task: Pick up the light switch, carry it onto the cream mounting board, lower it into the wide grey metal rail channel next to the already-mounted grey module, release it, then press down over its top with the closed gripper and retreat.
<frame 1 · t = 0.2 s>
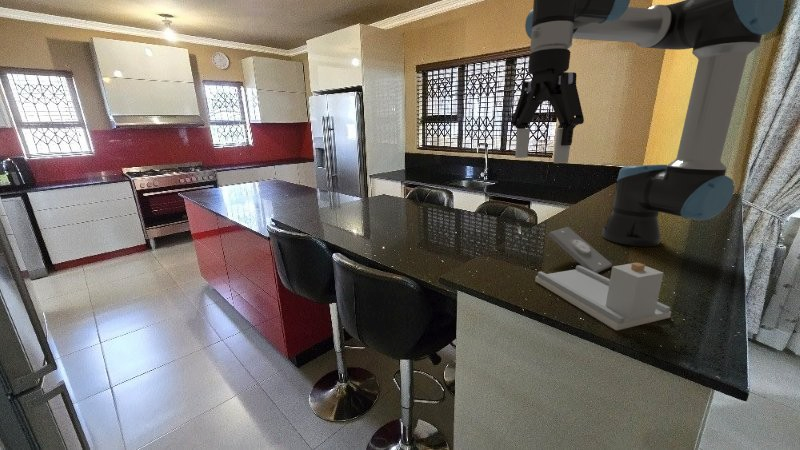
hand: (539, 160, 73), 27 cm above the worktop, fingers open, 13 cm apart
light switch: (577, 264, 88), on the worktop
rail board: (595, 297, 70), on the worktop
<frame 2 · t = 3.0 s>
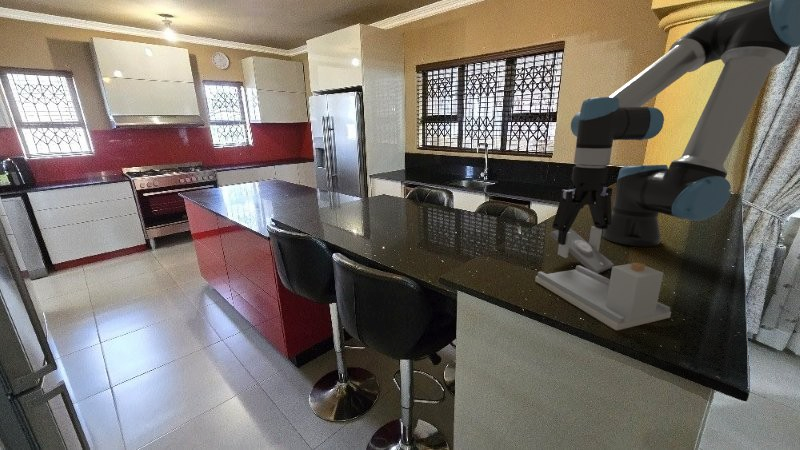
hand: (578, 253, 87), 3 cm above the worktop, fingers closed on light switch, 9 cm apart
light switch: (578, 264, 88), on the worktop, touching gripper
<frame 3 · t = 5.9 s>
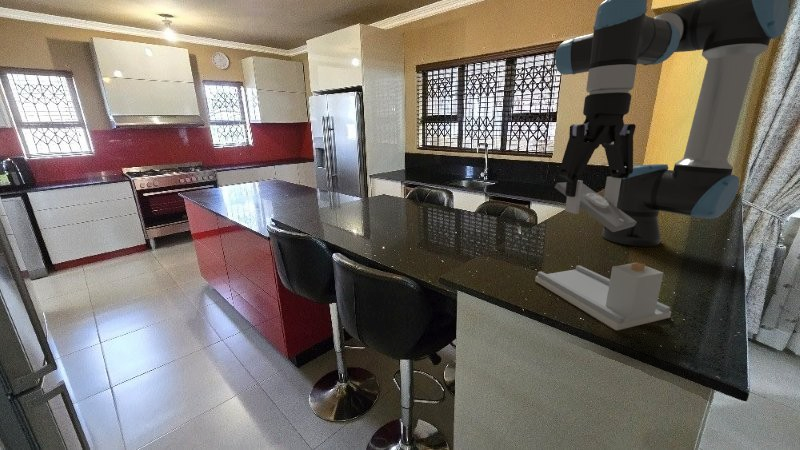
hand: (590, 210, 69), 18 cm above the worktop, fingers closed on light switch, 9 cm apart
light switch: (591, 223, 70), point 15 cm above the worktop, touching gripper
when the fingers open (5 cm above the worktop, at t = 8.7 s): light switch stays where it is, resting on rail board.
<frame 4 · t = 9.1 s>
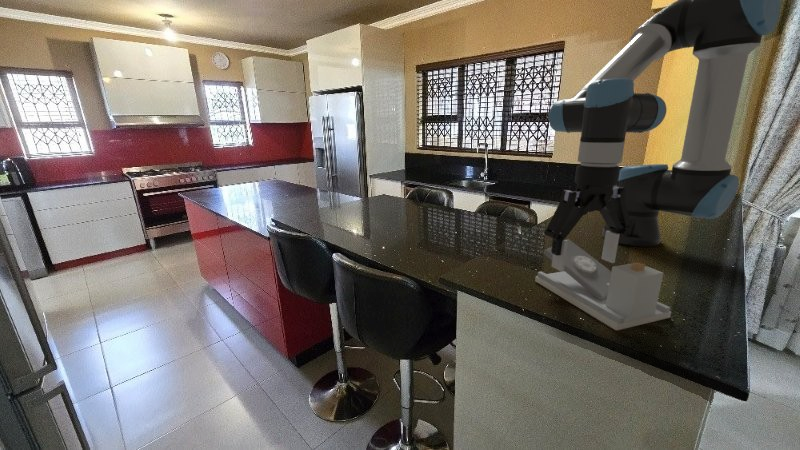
hand: (583, 264, 72), 6 cm above the worktop, fingers open, 13 cm apart
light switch: (582, 284, 73), point 1 cm above the worktop, touching rail board
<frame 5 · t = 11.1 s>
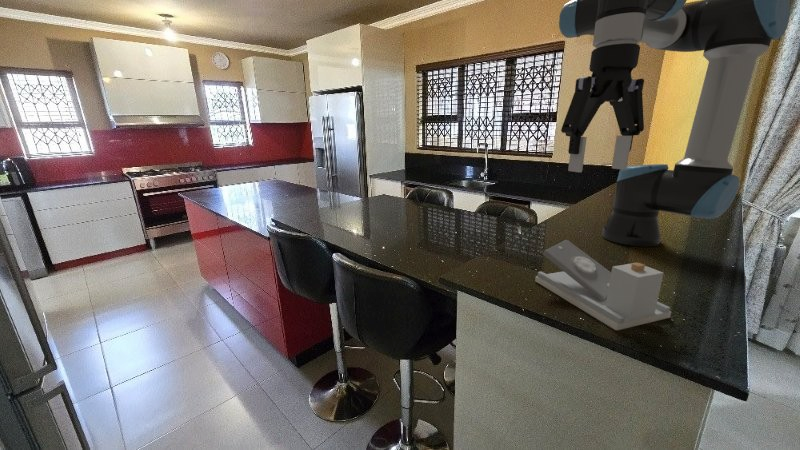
hand: (597, 170, 67), 26 cm above the worktop, fingers open, 10 cm apart
nothing on the worktop moved.
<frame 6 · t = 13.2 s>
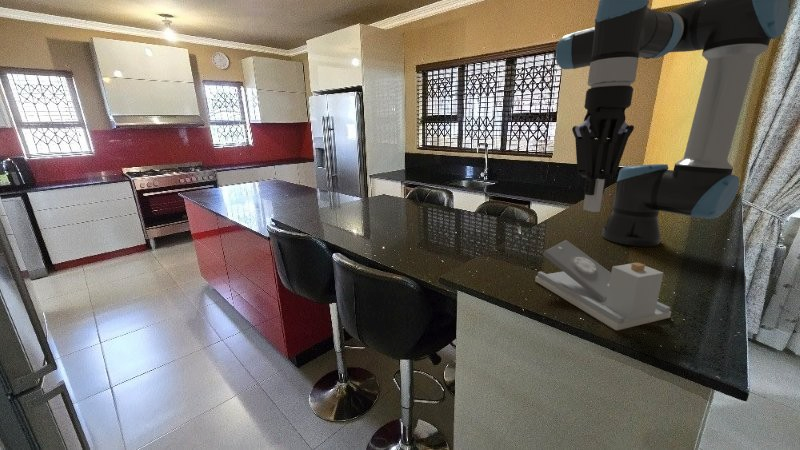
hand: (591, 210, 69), 18 cm above the worktop, fingers closed
nothing on the worktop moved.
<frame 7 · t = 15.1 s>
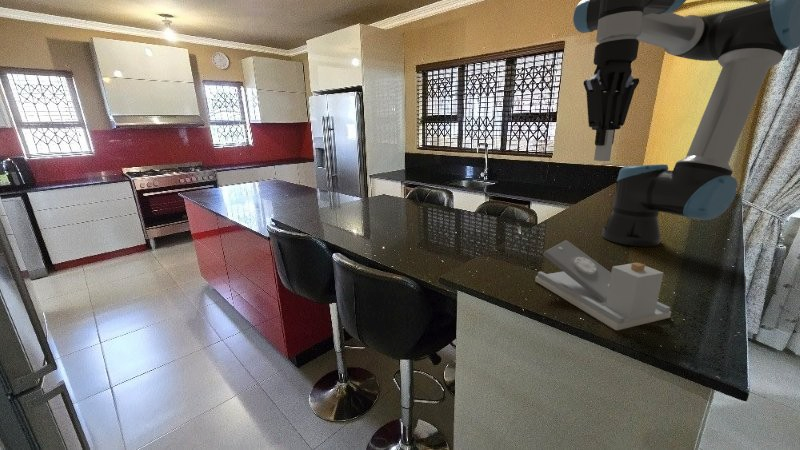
hand: (601, 160, 75), 27 cm above the worktop, fingers closed
nothing on the worktop moved.
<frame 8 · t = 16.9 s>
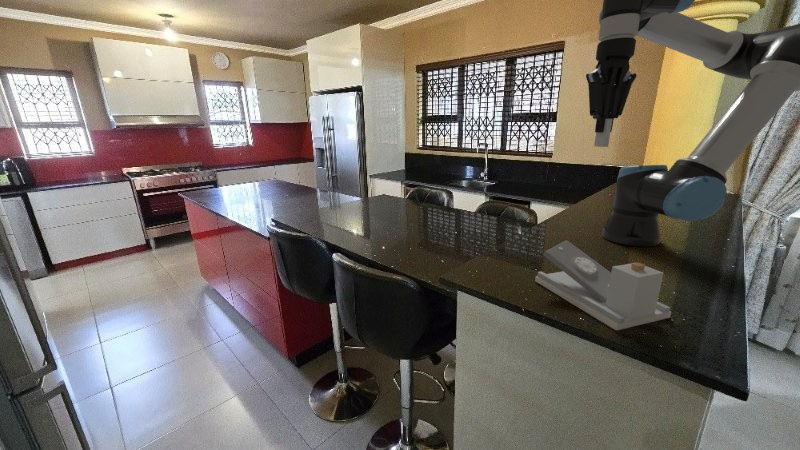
hand: (601, 146, 83), 29 cm above the worktop, fingers closed
nothing on the worktop moved.
at the end: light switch inside the target area on the rail board (1.1 cm from its centre), point 1.2 cm above the rail board's base; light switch tilted 7°; the gripper is holding nothing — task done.
